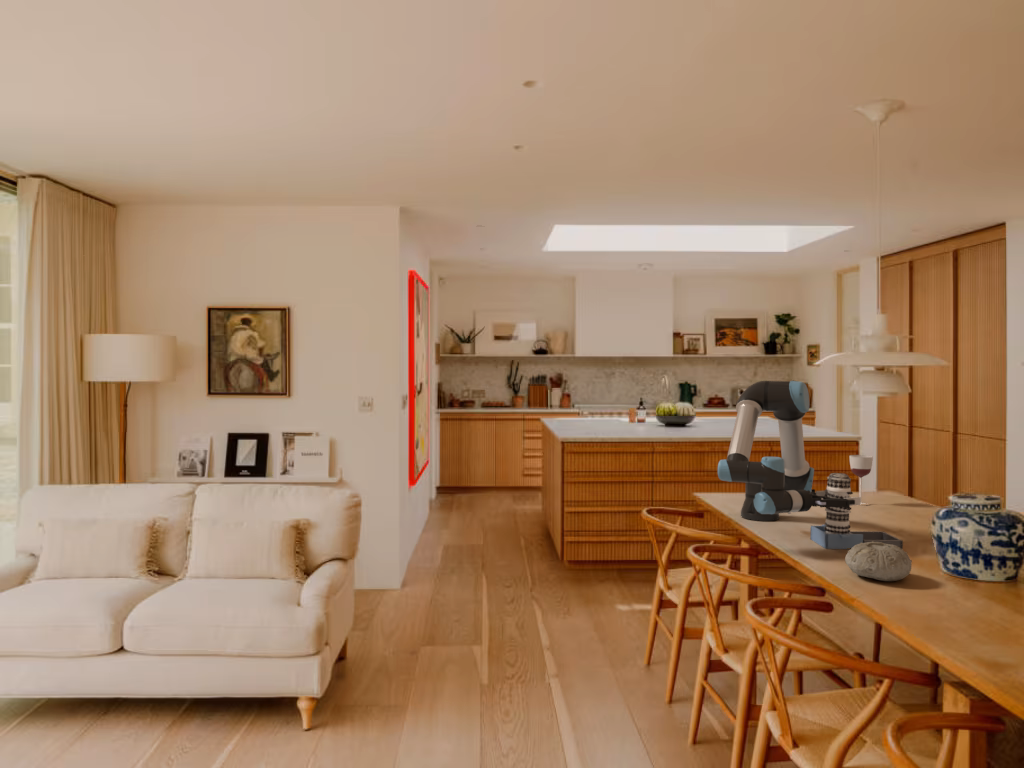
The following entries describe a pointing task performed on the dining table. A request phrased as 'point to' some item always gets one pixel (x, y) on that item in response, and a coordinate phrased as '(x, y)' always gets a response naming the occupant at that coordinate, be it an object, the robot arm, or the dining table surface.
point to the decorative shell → (879, 561)
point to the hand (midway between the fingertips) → (845, 497)
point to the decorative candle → (838, 515)
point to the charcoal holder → (879, 537)
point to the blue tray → (834, 538)
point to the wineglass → (861, 467)
